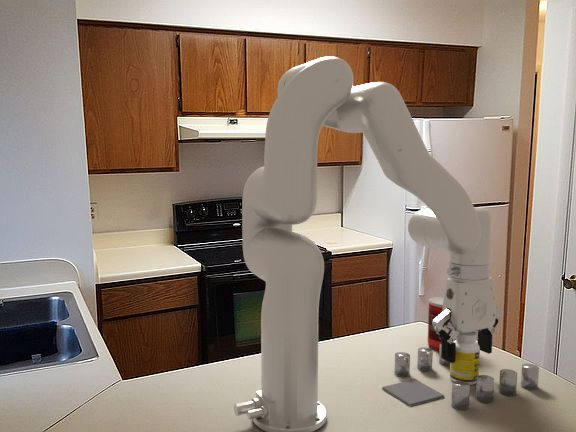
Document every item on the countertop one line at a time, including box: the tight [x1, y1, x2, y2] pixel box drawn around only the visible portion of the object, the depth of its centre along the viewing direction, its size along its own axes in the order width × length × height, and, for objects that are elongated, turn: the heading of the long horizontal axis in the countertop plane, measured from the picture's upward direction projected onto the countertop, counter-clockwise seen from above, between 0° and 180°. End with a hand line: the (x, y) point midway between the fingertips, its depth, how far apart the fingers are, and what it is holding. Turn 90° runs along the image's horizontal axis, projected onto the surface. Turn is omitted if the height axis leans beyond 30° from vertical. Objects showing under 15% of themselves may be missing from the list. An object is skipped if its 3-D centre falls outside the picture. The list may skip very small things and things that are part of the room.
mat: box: [381, 378, 445, 407], centre depth 101 cm, size 8×8×1 cm
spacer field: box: [394, 343, 540, 411], centre depth 106 cm, size 21×19×4 cm
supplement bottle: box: [449, 331, 481, 386], centre depth 106 cm, size 5×5×10 cm
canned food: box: [427, 295, 456, 352], centre depth 125 cm, size 8×8×11 cm
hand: (466, 355), depth 106 cm, fingers open, 9 cm apart
